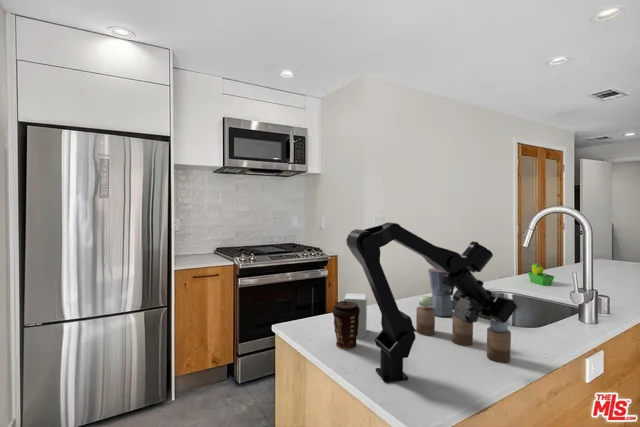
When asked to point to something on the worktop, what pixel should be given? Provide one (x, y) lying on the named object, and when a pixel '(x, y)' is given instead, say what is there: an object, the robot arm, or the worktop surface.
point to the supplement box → (362, 304)
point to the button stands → (466, 334)
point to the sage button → (425, 301)
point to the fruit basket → (540, 276)
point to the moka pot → (440, 293)
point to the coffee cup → (346, 324)
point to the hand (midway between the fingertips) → (498, 320)
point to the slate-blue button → (498, 326)
